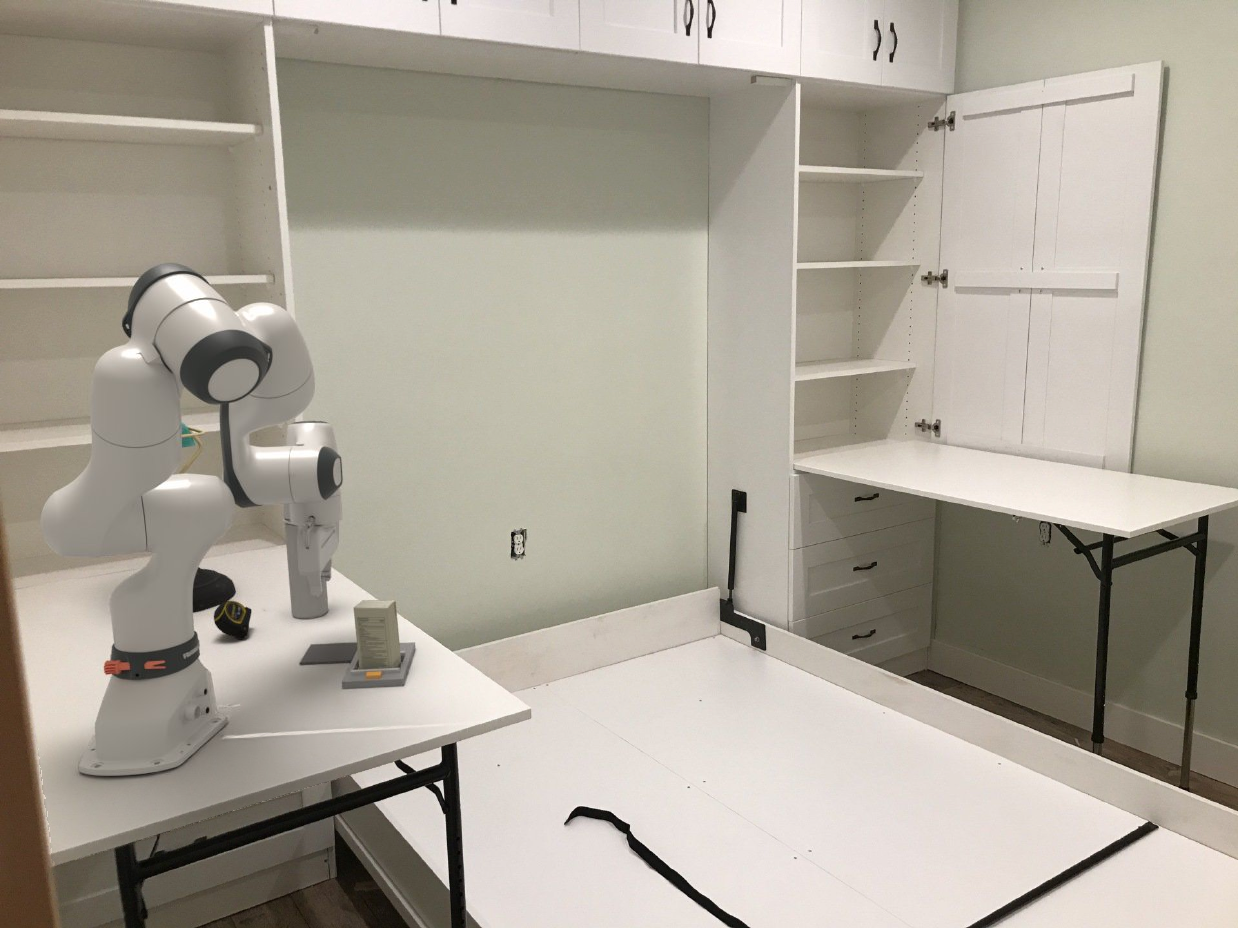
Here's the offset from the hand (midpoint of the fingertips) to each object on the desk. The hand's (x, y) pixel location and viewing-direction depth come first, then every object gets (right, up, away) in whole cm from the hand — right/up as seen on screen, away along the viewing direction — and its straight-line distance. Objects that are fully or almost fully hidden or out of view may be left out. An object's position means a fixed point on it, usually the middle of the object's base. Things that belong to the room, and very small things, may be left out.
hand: (321, 587), depth 175 cm
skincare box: (+12, -14, -5) cm, 19 cm away
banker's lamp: (-41, -7, +34) cm, 54 cm away
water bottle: (-9, -9, +23) cm, 26 cm away
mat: (+1, -12, +2) cm, 13 cm away
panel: (+12, -14, -4) cm, 18 cm away
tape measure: (-20, -11, +13) cm, 26 cm away
